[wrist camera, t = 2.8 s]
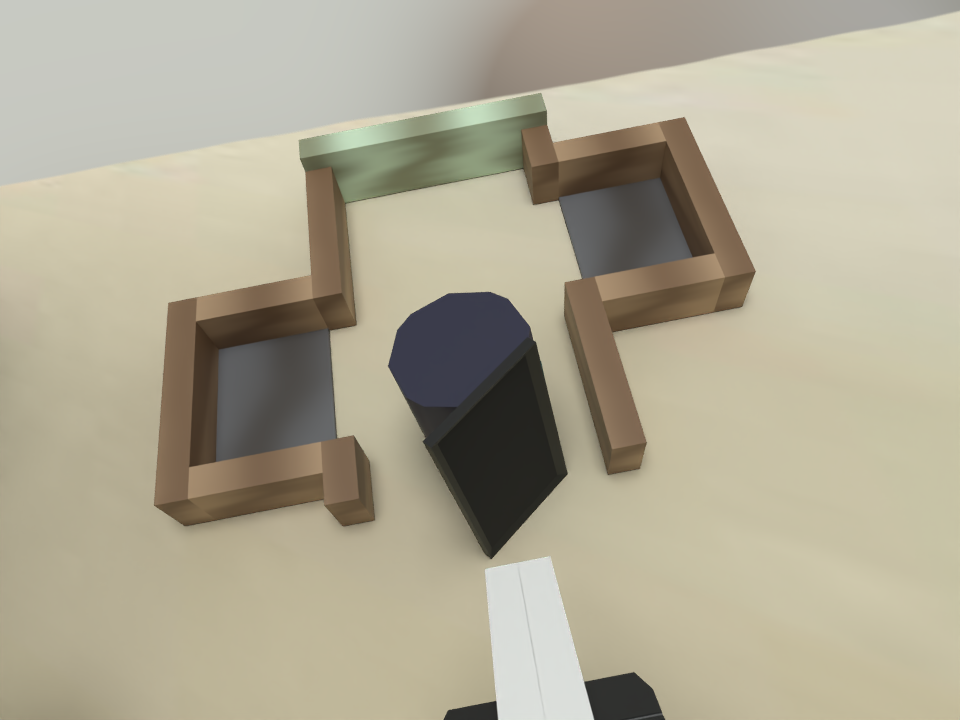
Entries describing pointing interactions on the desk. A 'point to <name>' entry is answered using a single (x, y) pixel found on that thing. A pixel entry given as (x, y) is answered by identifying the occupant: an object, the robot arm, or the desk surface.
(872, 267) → the desk surface
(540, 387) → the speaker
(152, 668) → the desk surface
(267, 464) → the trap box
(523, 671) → the robot arm
